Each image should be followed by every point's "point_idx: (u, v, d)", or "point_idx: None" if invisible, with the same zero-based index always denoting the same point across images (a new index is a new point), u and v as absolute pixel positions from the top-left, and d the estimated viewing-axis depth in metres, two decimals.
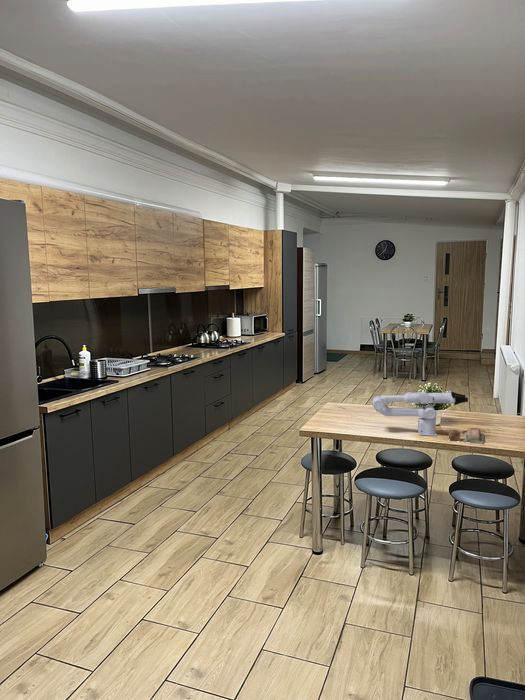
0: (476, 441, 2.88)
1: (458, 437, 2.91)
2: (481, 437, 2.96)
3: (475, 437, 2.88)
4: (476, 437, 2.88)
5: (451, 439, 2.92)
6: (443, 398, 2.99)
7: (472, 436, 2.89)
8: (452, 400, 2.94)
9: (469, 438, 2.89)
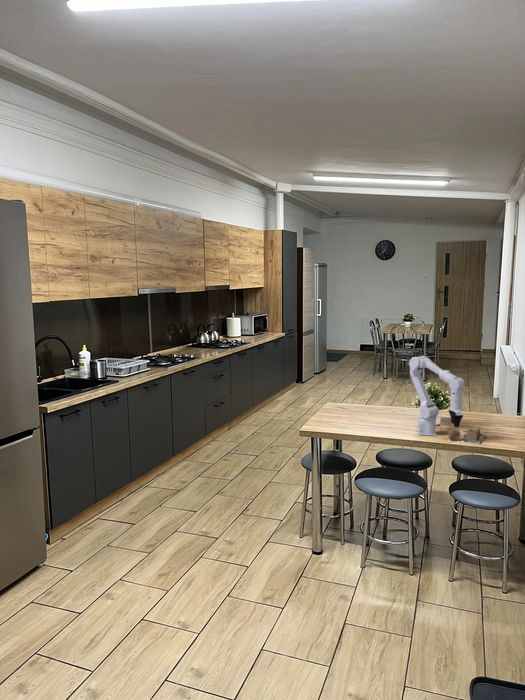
0: (473, 441, 2.89)
1: (458, 437, 2.91)
2: (480, 437, 2.96)
3: (472, 437, 2.89)
4: (473, 437, 2.88)
5: (451, 439, 2.92)
6: (457, 403, 2.89)
7: (469, 436, 2.90)
8: (458, 413, 2.85)
9: (466, 437, 2.90)
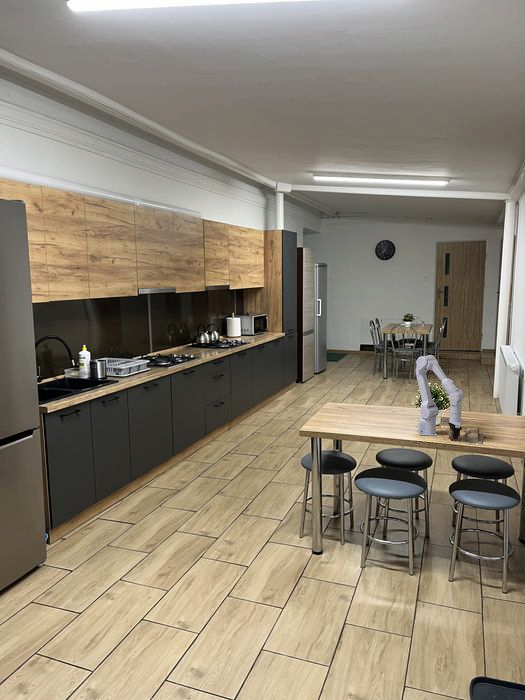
0: (475, 441, 2.88)
1: None
2: (480, 437, 2.96)
3: (474, 437, 2.88)
4: (475, 437, 2.88)
5: (451, 439, 2.92)
6: (457, 415, 2.90)
7: (471, 436, 2.89)
8: (458, 425, 2.86)
9: (468, 438, 2.90)
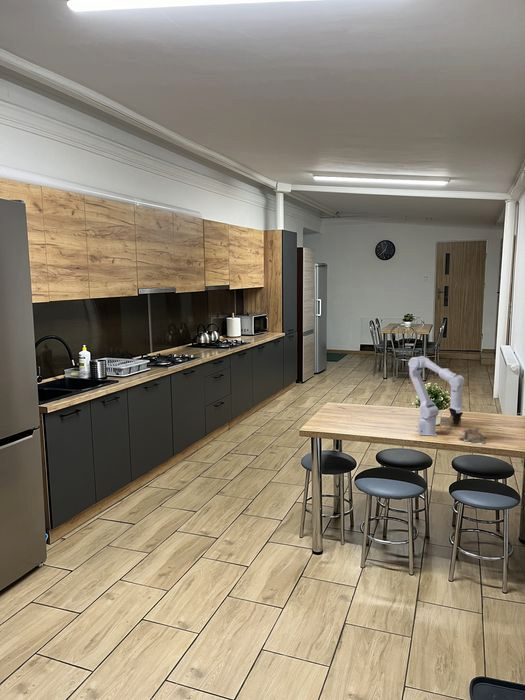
0: (477, 441, 2.88)
1: None
2: None
3: (476, 437, 2.88)
4: (477, 437, 2.88)
5: (452, 425, 2.91)
6: (457, 401, 2.89)
7: (473, 436, 2.89)
8: (458, 410, 2.85)
9: (471, 438, 2.89)
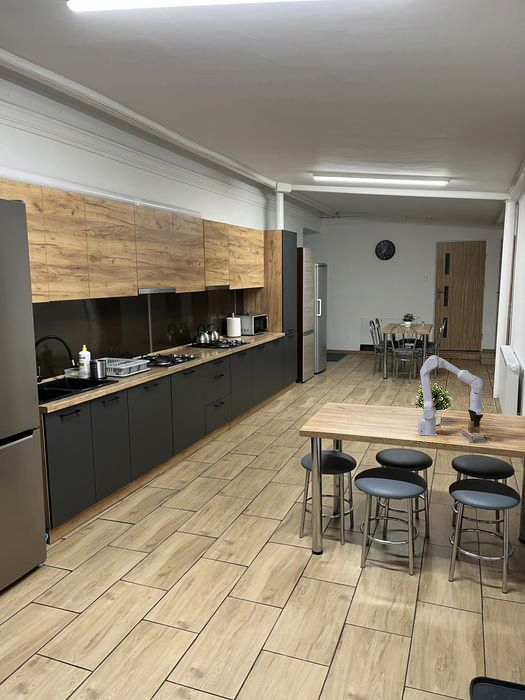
0: (481, 441, 2.88)
1: (477, 427, 2.93)
2: None
3: (480, 437, 2.88)
4: (481, 437, 2.88)
5: (471, 430, 2.94)
6: (477, 403, 2.91)
7: (477, 436, 2.88)
8: (478, 412, 2.87)
9: (475, 439, 2.88)
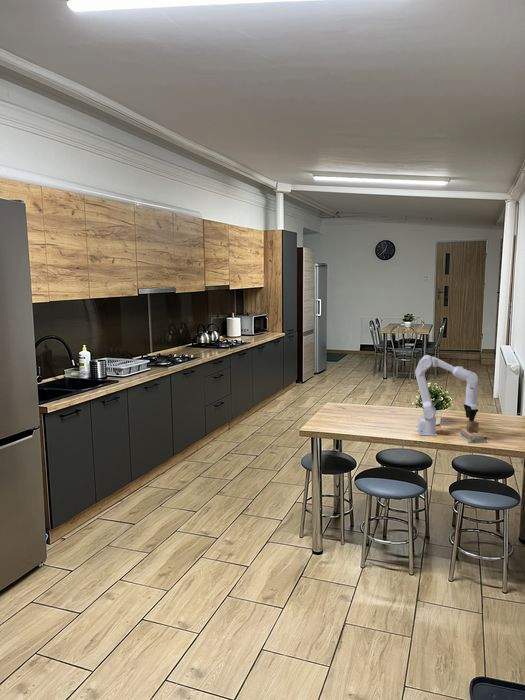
0: (480, 441, 2.88)
1: (476, 427, 2.93)
2: None
3: (479, 437, 2.88)
4: (480, 437, 2.88)
5: (469, 430, 2.94)
6: (472, 397, 2.93)
7: (476, 436, 2.88)
8: (473, 407, 2.89)
9: (474, 439, 2.88)
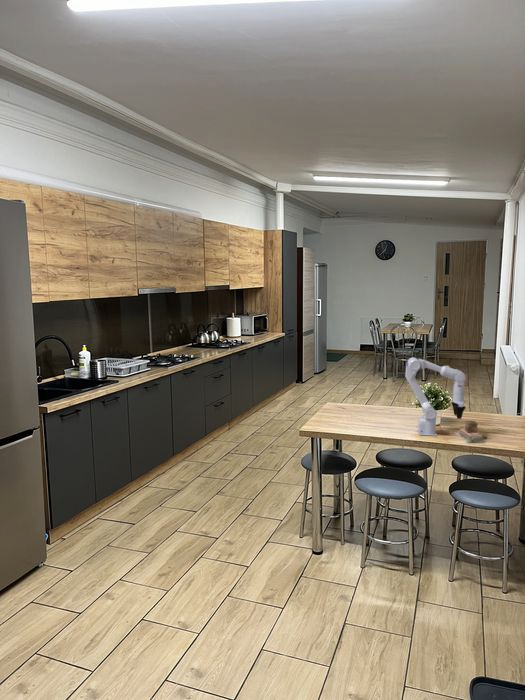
0: (479, 441, 2.89)
1: (475, 427, 2.93)
2: None
3: (478, 437, 2.88)
4: (479, 437, 2.88)
5: (468, 430, 2.94)
6: (460, 395, 2.98)
7: (475, 436, 2.89)
8: (461, 404, 2.94)
9: (473, 439, 2.88)
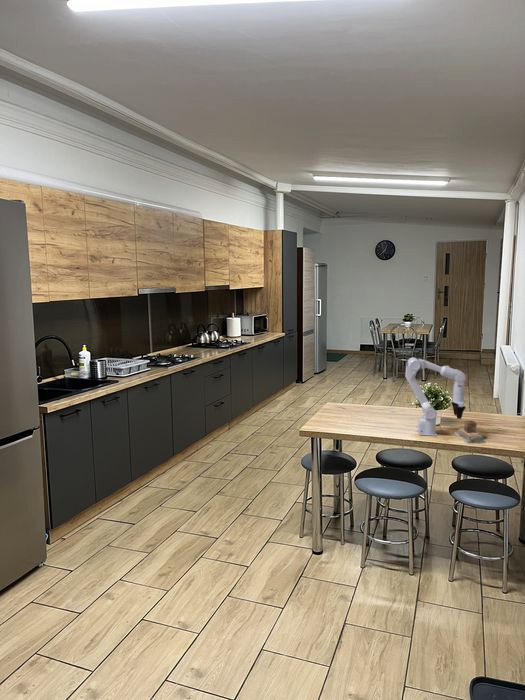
0: (479, 441, 2.89)
1: (474, 427, 2.94)
2: None
3: (478, 437, 2.89)
4: (479, 437, 2.89)
5: (467, 430, 2.94)
6: (460, 395, 2.98)
7: (475, 436, 2.89)
8: (461, 404, 2.94)
9: (473, 439, 2.88)
